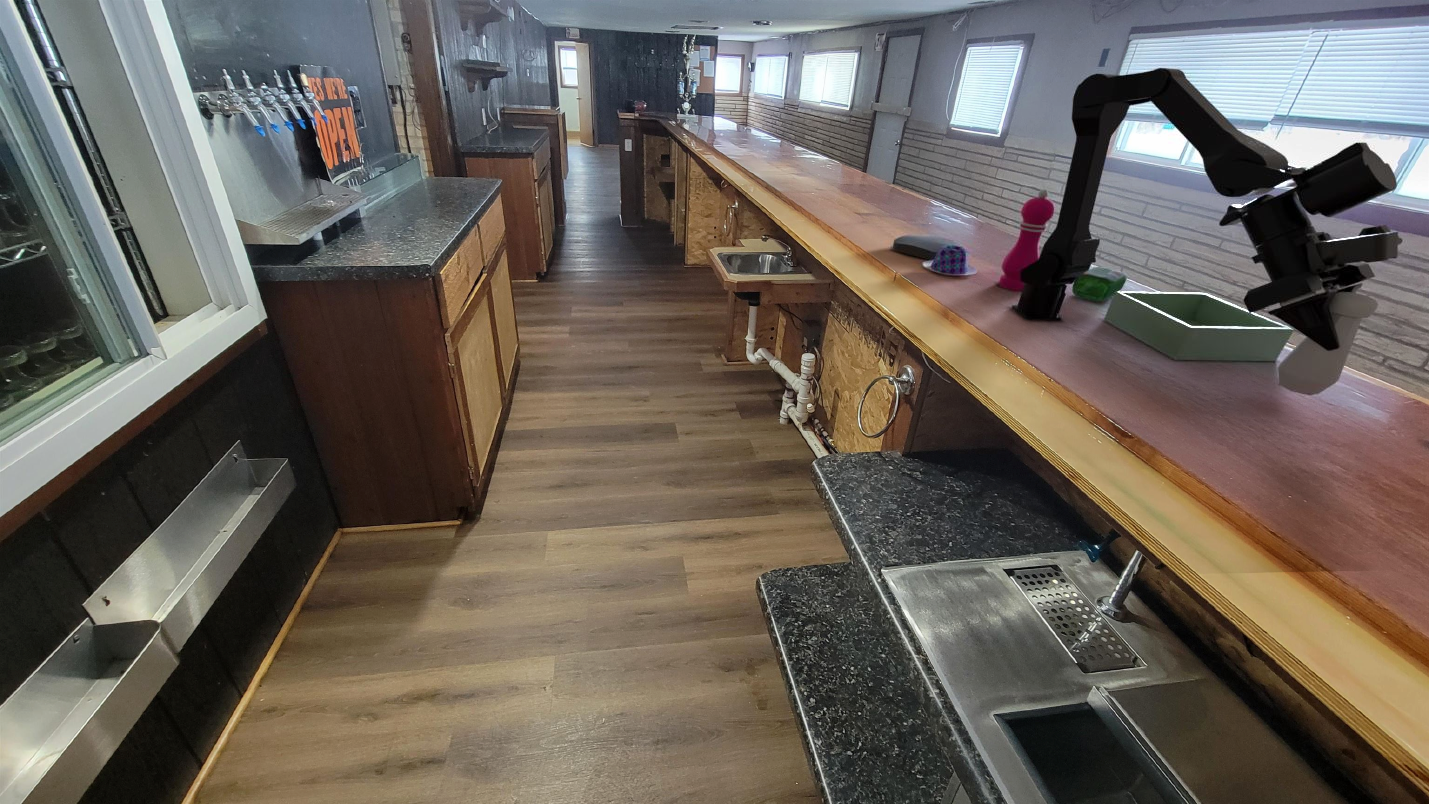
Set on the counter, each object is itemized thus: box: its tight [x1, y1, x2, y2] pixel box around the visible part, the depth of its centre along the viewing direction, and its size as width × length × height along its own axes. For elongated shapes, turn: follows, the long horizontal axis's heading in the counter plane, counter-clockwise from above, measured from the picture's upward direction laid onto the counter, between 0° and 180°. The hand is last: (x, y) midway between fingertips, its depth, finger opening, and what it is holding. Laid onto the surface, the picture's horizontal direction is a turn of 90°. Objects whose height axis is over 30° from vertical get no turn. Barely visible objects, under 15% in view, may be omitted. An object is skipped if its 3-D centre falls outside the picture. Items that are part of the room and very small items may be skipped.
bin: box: [1103, 290, 1295, 362], centre depth 98 cm, size 18×18×6 cm
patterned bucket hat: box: [922, 245, 978, 277], centre depth 130 cm, size 12×12×5 cm
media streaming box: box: [892, 234, 964, 260], centre depth 144 cm, size 15×15×3 cm
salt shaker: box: [1277, 292, 1379, 396], centre depth 72 cm, size 6×6×13 cm
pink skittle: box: [998, 189, 1056, 292], centre depth 117 cm, size 7×7×20 cm
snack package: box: [1071, 266, 1128, 303], centre depth 118 cm, size 7×16×5 cm, turn 131°
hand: (1340, 347), depth 71 cm, fingers closed on salt shaker, 3 cm apart
